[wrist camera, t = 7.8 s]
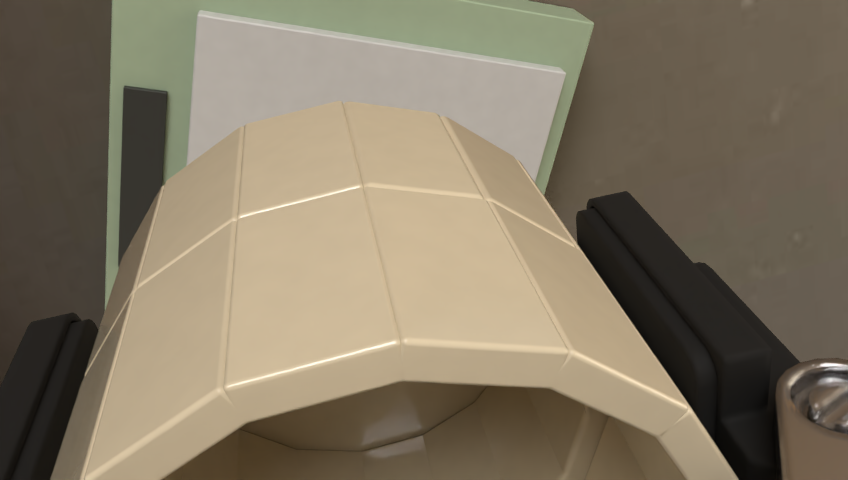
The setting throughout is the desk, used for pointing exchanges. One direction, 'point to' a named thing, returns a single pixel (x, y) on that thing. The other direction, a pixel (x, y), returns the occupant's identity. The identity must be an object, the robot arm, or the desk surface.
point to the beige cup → (369, 323)
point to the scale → (326, 78)
